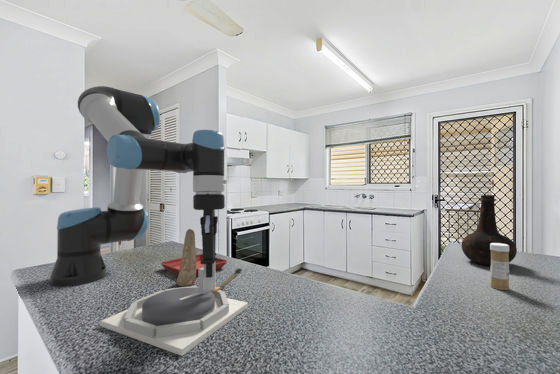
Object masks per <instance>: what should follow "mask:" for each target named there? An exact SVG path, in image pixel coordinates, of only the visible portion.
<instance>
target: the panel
mask: <svg viewBox="0 0 560 374" xmlns="http://www.w3.org/2000/svg"><path fill="white" fill-rule="evenodd" d="M179 288H198V285H191V286H187V287H186V286H184V287H183V286H181V287H173V288H166V289H161V290H159V291H157V292H156V291H155V292H154V293H153V292H152V293H151V294H148V295H146V296H144V297H141V298H139V299H136V300H134V301H133V302H131V303H130V305H129V307H128V309H126V310H123V311H121V312H119V313H116V314H113V315H112V316H109V317H106V318H104V319H102V320H100V327H102V328H104V329H106V330H107V329H108V330H111V331H113V332H115V333H119V334H120V335H124V336H126V337H129V338H132V339H134V340H138V341H140V342H143V343H144V344H145V343H146V344H148V345H151V346H153V347H157V348H159V349H162V350H164V351H168V352H170V353H173V354H176V355H178V356H182V357H183V356H185V354H187V353H189V352H190V351H191V350H192V349H194V348H195V347H197V346H198V345H199V344H201V343H202V342H203V341H205V340H206V339H208V338H209V337H210V336H211V335H213V334H214V333H215V332H217V331H218V330H220V329H221V328H223V327H224V326H225V325H226V324H228V323H229V322H231V321H232V320H233V319H235V318H236V317H237V316H239V315H240V314H241V313H242V312H244V311H245V310H247V309H248V308H249V302H246V301H242V300H237V299H234V298H227V295H226V292H225V291H224V290H220V289H221V287H219V286H216V288H215V290H210V291H211V292H212V293H213V294H214V295H215V308H214V311H213V312H211V313H209V314H208V315H206V316H205V317H203V318H201V319H200V320H194V321H187V322H181V323H174V324H168V325H161V326H155V325H152V324H149V323H146V322H144V321H143V320H142V305H143V303H144V302H145V301H146V300H147V299H148V298H150V297H152V296H154V295H156V294H158V293H161V292H164V291H168V290H173V289H179Z"/></svg>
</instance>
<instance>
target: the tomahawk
mask: <svg viewBox="0 0 560 374" xmlns="http://www.w3.org/2000/svg"><path fill="white" fill-rule="evenodd" d="M242 271H243V270H242V268H237V269H235V271H234V272H233V274H231V275H230V276H229V277H228V278H227V279H225V280H224V281H223V282H222V283H221V284H220V285H219V286H218V287H221V289H220V290H222V291H224V292H225V291H226V292H227V289H225V286H227V285H228V284H229V283H230V282H231V281H232V280H233V279H235V278H236V277H237V276H238V275H239V274H240V272H242Z"/></svg>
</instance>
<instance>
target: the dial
mask: <svg viewBox="0 0 560 374" xmlns="http://www.w3.org/2000/svg"><path fill="white" fill-rule="evenodd" d="M197 277H198V278H197V279H198V280H197V281H198V285H197V287H198V288H181V287H178V288H179V289H173V290H168V291H165V290H164V292H161V293H158V294H156V295H154V296H152V297H150V298H148V299H147V300H146V301H145V302H144V303H143V305H142V320H143V321H144V322H146V323H149V324H152V325H155V326H161V325H168V324H174V323H181V322H187V321H194V320H200V319H201V318H203V317H205V316H206V315H208V314H209V313H211V312H213V311H214V308H215V295H214V294H213V293H212V292H211V291H210V290H205V291H204V267H203V268H199V269H198V275H197Z"/></svg>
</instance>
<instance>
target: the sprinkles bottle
mask: <svg viewBox="0 0 560 374" xmlns="http://www.w3.org/2000/svg"><path fill="white" fill-rule="evenodd" d="M490 249H491V266H490V287H491V288H494V289H497V290H501V291H508V290H510V287H509V286H510V262H509V245H507V244H502V243H491V244H490Z"/></svg>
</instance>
